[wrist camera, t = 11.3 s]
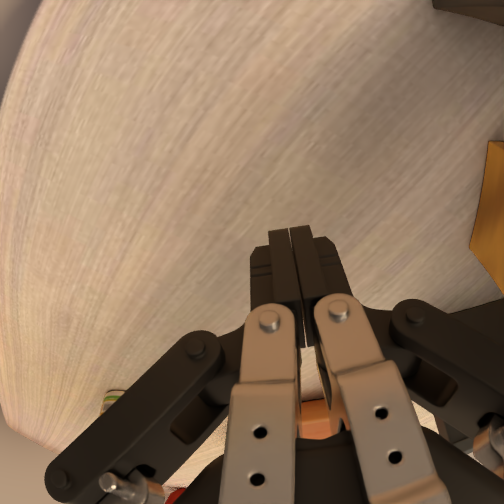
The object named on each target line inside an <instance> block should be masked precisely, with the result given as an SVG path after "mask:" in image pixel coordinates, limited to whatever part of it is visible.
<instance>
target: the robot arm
mask: <svg viewBox="0 0 504 504" xmlns="http://www.w3.org/2000/svg"><path fill="white" fill-rule="evenodd" d="M289 229H290V237H291V242H290V237H289V232H288V228H285V229H279V230H272V231H268V236H269V245H266V246H259V247H255V249H254V251H253V253H252V254H251V256H250V277H251V278H250V295H251V310H250V313H249V315H248V316H247V318H246V320H245V323H244V324H243V325H242V326H241V327H240V328H238V329H236V330H235V331H232V332H230V333H228V334H225V335H223V336H220V337H217V336H216V335H215V334H213V333H211V332H209V331H204V330H199V331H193V332H190V333H188V334H186V335H184V336H183V337H182V338H181V339H179V340H178V341H177V342H176V343H175V344H174V345H173V346H172V347H171V348H170V349H169V350H168V351H167V352H166V353H165V354H164V355H163V356H162V357H161V358H160V359H159V360H158V361H157V362H156V363H155V364H154V365H153V366H152V367H151V368H150V369H148V370H147V371H146V372H145V373H144V374H143V375H142V376H141V377H140V378H139V379H138V380H137V381H136V382H135V383H134V384H133V385H132V386H131V387H130V388H129V389H128V390H127V391H126V392H125V393H124V394H123V395H121V396H120V397H119V398H118V399H117V400H116V401H115V402H114V403H113V404H112V405H111V406H110V407H109V408H108V409H107V410H106V411H105V412H104V413H103V414H102V415H101V416H100V417H98V418H97V419H96V420H95V421H94V422H93V423H92V424H91V425H90V426H89V427H88V428H87V429H86V430H85V431H84V432H83V433H82V434H81V435H80V436H78V437H77V438H76V439H75V440H74V441H73V442H72V443H71V444H70V445H69V446H68V447H67V448H66V449H65V450H64V451H63V452H61V453H60V454H59V455H58V456H57V457H56V458H55V459H54V460H53V461H52V462H51V463H50V464H49V466H48V467H47V469H46V472H45V479H44V480H45V486H46V489H47V491H48V493H49V494H50V496H51V497H52V498H53V499H55V500H56V501H58V502H61V503H64V504H164V501H165V494H164V490H163V488H162V485H163V484H164V483H165V482H166V481H167V480H168V479H169V478H170V477H171V476H172V475H173V474H174V473H175V472H176V471H177V470H178V469H179V468H180V467H181V466H182V465H183V464H184V463H185V462H186V461H187V459H188V458H189V457H190V456H191V455H192V454H193V453H194V452H195V451H196V450H197V449H198V448H199V447H200V446H201V445H202V444H203V443H204V441H205V440H206V439H207V438H208V437H209V436H210V435H211V434H212V433H213V432H214V430H215V429H216V428H217V427H218V426H219V425H220V424H221V423H222V422H223V420H224V419H225V418H226V417H227V416H228V423H227V432H226V441H225V450H224V454H223V455H221V456H219V457H218V458H216V459H215V460H213V461H212V462H211V463H210V464H209V465H207V466H206V467H205V468H204V469H203V470H202V472H201V473H200V474H199V475H198V476H197V477H196V478H195V479H194V481H193V482H192V483H191V484H190V485H189V486H188V487H187V488H186V489H185V490H184V492H183V493H182V494H181V495H180V496H179V497H178V498H177V499H176V500H175V501H174V502H173V503H172V504H504V346H503V345H501V344H499V343H497V342H496V341H494V340H492V339H491V338H489V337H487V336H485V335H484V334H482V333H480V332H478V331H477V330H475V329H473V328H471V327H470V326H468V325H466V324H464V323H463V322H461V321H459V320H457V319H455V318H454V317H452V316H450V315H448V314H446V313H445V312H443V311H441V310H439V309H437V308H436V307H434V306H432V305H430V304H428V303H426V302H424V301H422V300H418V299H407V300H403V301H401V302H399V303H398V304H397V305H396V306H395V307H394V308H393V311H388V310H376V309H371V308H368V307H365V306H363V305H362V304H361V303H360V302H359V301H358V300H357V299H356V298H354V296H353V294H352V292H351V289H350V286H349V283H348V280H347V277H346V274H345V272H344V269H343V266H342V264H341V260H340V258H339V256H338V252H337V250H336V247H335V244H334V243H333V242H332V241H330V240H329V239H328V238H327V237H326V236H324V237H318V238H313V235H312V232H311V229H310V226H309V225H305V226H298V227H291V228H289ZM291 245H292V247H291ZM303 321H304V324H303ZM304 327H305V334H306V340H307V346H308V347H311V346H314V347H315V353H316V366H317V370H318V374H319V378H320V382H321V386H322V390H323V394H324V398H325V402H326V406H327V411H328V415H329V422H330V430H331V435H332V436H330V437H328V438H325V439H307V438H303V433H302V404H301V370H300V367H301V364H302V359H301V350H300V348H305V347H306V346H305V335H304ZM411 400H412V401H414V402H415V403H417V404H418V405H420V406H421V407H423V408H424V409H426V410H427V411H429V412H430V413H432V414H433V415H435V416H437V417H438V418H440V419H441V420H443V421H444V422H446V423H447V424H449V425H450V426H452V427H453V428H455V429H457V430H458V431H460V432H461V433H463V434H464V435H466V436H468V437H469V438H471V439H472V440H474V442H473V454H474V457H475V458H476V459H477V460H478V461H479V462H480V463H482V464H483V465H481V464H480V463H479V462H477V461H476V460H474V459H473V458H471V457H470V456H468V455H467V454H466V453H464V452H463V451H461V450H460V449H459V448H457V447H456V446H454V445H453V444H451V443H450V442H449V441H447V440H446V439H444V438H443V437H442V436H440V435H439V434H437V433H436V432H434V431H432V430H430V429H428V428H426V427H423V426H421V425H420V423H419V420H418V417H417V414H416V412H415V409H414V407H413V404H412V401H411Z"/></svg>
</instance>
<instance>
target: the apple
mask: <svg viewBox="0 0 504 504" xmlns="http://www.w3.org/2000/svg"><path fill="white" fill-rule="evenodd" d="M185 489H186V488H181V489H178V490H176V491H174V492H172V493H171V494H170V496H169V497H168V499H167V501H166V502H165V504H172V503H173V502H174V501H175V500H176V499H177V498H178V497H179V496H180V495H181V494H182V493H183V492H184V490H185Z"/></svg>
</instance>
